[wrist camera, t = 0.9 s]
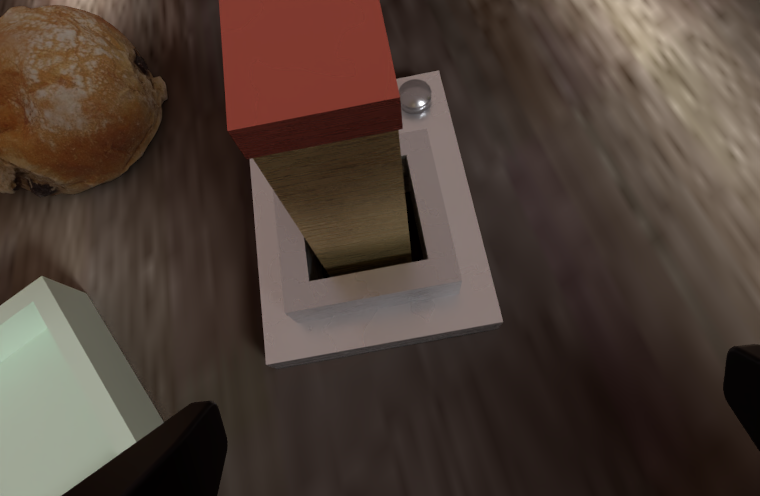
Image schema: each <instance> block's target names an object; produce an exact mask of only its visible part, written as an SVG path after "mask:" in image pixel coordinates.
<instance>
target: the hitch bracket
mask: <svg viewBox="0 0 760 496" xmlns="http://www.w3.org/2000/svg"><path fill="white" fill-rule="evenodd" d="M396 80H397V85H398V90H399V94H400V101H401V113H402V124H403V129H400V130H398V131H399V140H400V150H401V160H402V169H403V179H404V189H405V192H410V197H411V201H412V206H413V211H414V216H415V221H416V226H417V230H418V235H419V240H420V245H421V250H422V255H423V259H424V260H421V261H416V262H411V263H405V264H400V265H394V266H389V267H384V268H378V269H373V270H368V271H362V272H357V273H351V274H346V275H341V276H335V277H330V278H325V279H323V272H322V265H321V262H320V260H319V259H318V257H317V256H316V254H315V253H314V251H313V250H312V248H311V247H310V245H309V244H308V242H307V241H306V239H305V238H304V236H303V235H302V233H301V231H300V230H299V228H298V227H297V225H296V224H295V222H294V221H293V219H292V218H291V216H290V215H289V213H288V212H287V210H286V209H285V207H284V206H283V204H282V202H281V201H280V199H279V198H278V196H277V195H276V193H275V192H274V190H273V189H272V187H271V186H270V184H269V183H268V181H267V180H266V178H265V177H264V175H263V173H262V172H261V170H260V169H259V167H258V166H257V164H256V163H255V161H254V160H253V158H251V159H250V170H251V183H252V195H253V208H254V220H255V233H256V245H257V258H258V270H259V283H260V295H261V308H262V320H263V333H264V345H265V358H266V365H268V366H270V367H273V368H275V369H279V368H284V367H290V366H295V365H301V364H306V363H312V362H317V361H323V360H328V359H334V358H339V357H345V356H350V355H356V354H361V353H367V352H373V351H378V350H384V349H389V348H395V347H400V346H406V345H411V344H417V343H422V342H428V341H433V340H439V339H444V338H450V337H455V336H461V335H467V334H472V333H478V332H483V331H489V330H494V329H499V327H500V326H501V324H502V323H503V319H502V315H501V312H500V308H499V304H498V300H497V296H496V292H495V288H494V284H493V280H492V276H491V272H490V269H489V265H488V261H487V257H486V253H485V249H484V245H483V241H482V237H481V233H480V230H479V226H478V222H477V218H476V214H475V210H474V206H473V202H472V198H471V194H470V190H469V187H468V183H467V179H466V175H465V171H464V167H463V163H462V159H461V155H460V151H459V148H458V144H457V140H456V136H455V132H454V128H453V124H452V120H451V116H450V112H449V108H448V105H447V101H446V97H445V93H444V89H443V85H442V81H441V77H440V73H439V71H434V72H429V73H424V74H419V75H414V76H409V77H404V78H399V79H396Z"/></svg>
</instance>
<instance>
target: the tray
mask: <svg viewBox="0 0 760 496" xmlns="http://www.w3.org/2000/svg"><path fill="white" fill-rule="evenodd" d="M163 423H164V421H163V420H162V418H161V416H160V415H159V413H158V411H157V410H156V408H155V406H154V405H153V403H152V401H151V400H150V398H149V396H148V395H147V393H146V391H145V390H144V388H143V386H142V385H141V383H140V381H139V380H138V378H137V376H136V375H135V373H134V371H133V370H132V368H131V366H130V365H129V363H128V361H127V360H126V358H125V356H124V355H123V353H122V351H121V350H120V348H119V346H118V345H117V343H116V341H115V340H114V338H113V336H112V335H111V333H110V331H109V330H108V328H107V326H106V325H105V323H104V321H103V320H102V318H101V316H100V315H99V313H98V311H97V310H96V308H95V306H94V305H93V303H92V301H91V300H90V298H89V296H88V295H87V293H84V292H82V291H79V290H77V289H74V288H72V287H69V286H66V285H64V284H61V283H59V282H56V281H54V280H51V279H49V278H46V277H44V276H41V277H39V278H38V279H37V280H35V281H34V282H32V283H31V284H30V285H28V286H27V287H25V288H24V289H23V290H21V291H20V292H19V293H17V294H16V295H14V296H13V297H12V298H10V299H9V300H7V301H6V302H5V303H3V304H2V305H0V496H61V495H63V494H64V493H66V492H67V491H69V490H70V489H71V488H73V487H74V486H76V485H77V484H78V483H80V482H81V481H83V480H84V479H85V478H87V477H88V476H90V475H91V474H92V473H94V472H95V471H97V470H98V469H99V468H101V467H102V466H104V465H105V464H106V463H108V462H109V461H111V460H112V459H113V458H115V457H116V456H118V455H119V454H120V453H122V452H123V451H125V450H126V449H127V448H129V447H130V446H132V445H133V444H134V443H136V442H137V441H139V440H140V439H141V438H143V437H144V436H146V435H147V434H149V433H150V432H151V431H153V430H154V429H156V428H157V427H158V426H160V425H161V424H163Z"/></svg>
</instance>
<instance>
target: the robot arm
mask: <svg viewBox="0 0 760 496" xmlns="http://www.w3.org/2000/svg"><path fill="white" fill-rule="evenodd" d="M723 390H724V395H725V398H726V400H727V402H728V404H729V406H730V407H731V409H732V410H733V412H734V413H735V415H736V416H737V418H738V419H739V421H740V422H741V424H742V425H743V427H744V428H745V430H746V431H747V433H748V434H749V436H750V438H751V439H752V441H753V442H754V444H755V445H756V447H757V448H758V450H759V451H760V345H758V344H751V345H742V346H734V347H732V348H731V349H730V350H729V351H728V353H727V359H726V367H725V376H724V384H723ZM226 453H227V437H226V433H225V429H224V426H223V422H222V419H221V415H220V412H219V409H218V406H217V404H216V403H215V402H213V401H204V402H194V403H191V404H189V405H188V406H186V407H185V408H184V409H182V410H181V411H179V412H178V413H177V414H175V415H174V416H172V417H171V418H170V419H168V420H167V421H165V422H164V423H163V424H161V425H160V426H158V427H157V428H156V429H154V430H153V431H151V432H150V433H149V434H147V435H146V436H144V437H143V438H141V439H140V440H139V441H137V442H136V443H134V444H133V445H132V446H130V447H129V448H127V449H126V450H125V451H123V452H122V453H120V454H119V455H118V456H116V457H115V458H113V459H112V460H111V461H109V462H108V463H106V464H105V465H104V466H102V467H101V468H99V469H98V470H97V471H95V472H94V473H92V474H91V475H90V476H88V477H87V478H85V479H84V480H83V481H81V482H80V483H78V484H77V485H76V486H74V487H73V488H71V489H70V490H69V491H67V492H66V493H64V494H63V495H61V496H217V494H218V489H219V485H220V480H221V476H222V471H223V467H224V462H225V458H226Z"/></svg>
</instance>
